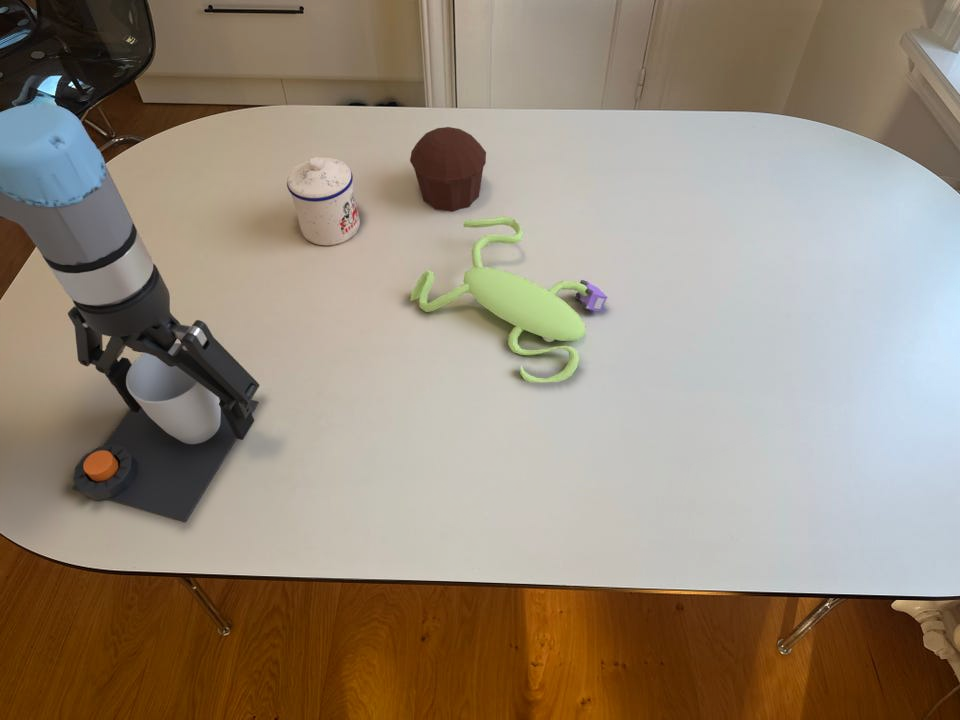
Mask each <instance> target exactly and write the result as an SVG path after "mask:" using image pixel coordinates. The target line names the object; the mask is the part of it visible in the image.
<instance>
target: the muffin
mask: <svg viewBox="0 0 960 720" xmlns="http://www.w3.org/2000/svg"><path fill="white" fill-rule="evenodd" d="M409 158H410V159H409V162H410V164H411V165H412V167H413V169H414V173H415V176H416V180H417V183H418V187H419V189H420V193H421V197H422V200H423V202H425V203H426V204H428V205H429V206H431V208H433V209H434V210H437V211H438V210H439V211H446V212H447V211H448V212H456V211H459V210H461V209H467V208H470V207H471V205H473V203H474V202H475V201H476V200H477V199H479V197H480V192H481V186H482V185H481V184H482V179H483V172H484V167H485V165H486V164H487V163H486V162H487V151H486V150H485V149H484V147H483V146H482V145H481V143H480V142H478V140H477V139H476V138H475V137H474V135H472V134H470V133H468V132H466V131H464V130H463V129H461V128H458V127H451V126H445V127H437V128H434V129H432V130H430V131H428V132H426V133H425V134H423V136H422V137H421V138H420V139H419V140H418V141H417V142H416V143H415V145H414V147H413V148H412V150H411V151H410V157H409Z"/></svg>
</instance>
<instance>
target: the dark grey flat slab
mask: <svg viewBox="0 0 960 720" xmlns="http://www.w3.org/2000/svg"><path fill="white" fill-rule="evenodd" d="M219 400H220V401H221V399H220V398H219ZM259 403H260V402H259V400H255V399H251V401H250V404H251V407H252V408H251V411H250V412H251V414H252V415H253V413H254V412H255V410H256V408H257V407H258V405H259ZM237 440H238V439H237V438H236V436H235V435H234V433H233V431H232V429H231V427H230V425H229V423H228V421H227V419H226V417H225V415H224V413H223V412H222V410H221V419H220V427H219V429H218V431H217V432H216V433H215V434H214V435H213V436H212V437H211V438H210V439H208V440H206V441H204V442H202V443H198V444H186V443H183V442H182V441H180V440H178V439H176V438H175V437H173V436H171V435H169V434H168V433H166V432H165V431H164V430H163V429H162V428H161V427H160V426H159V425H158V424H157V423H155V422H154V421H153V420H152V419H151V418H150V417H149V416H148V415H147V414H146V412H145V411H144V410H143V409H142V407H141V408H140V410H139V411H138V413H136V412H132V411H131V410H130V409H129V411H128V412H127V413H126V414H125V416H124V417H123V419H121V421H120V423H119V424H118V425H117V427H116V428H115V429H114V431H113V432H112V433H111V435H110V436H109V438H108V439H106V441H105V442H104V444H103V445H102V446H101V445H100V446H98V447H96V448H94V449H92V450H91V451H89V452H88V453H86V454H84V455H83V456H82V457H81V459H80V460H79V462H78V463H77V464H76V466H75V468H74V473H73V483H74V484H73V486H72V487H71V489H72V490H73V491H76V492H79V493H82V494H83V496H84V497H86V498H90V499H92V500H96V501H101V500H102V501H103V500H107V501H110V502H114V503H117V504H121V505H124V506H128V507H132V508H135V509H138V510H141V511H144V512H149V513H151V514H155V515H159V516H162V517H165V518H169V519H173V520H177V521H180V522H183V523H187V522H188V520H189V519H190V517H191V515H192V514H193V512H194V510H195V508H196V507H197V505H198V504H199V502H200V501H201V499H202V497H203V495H204V494H205V492H206V491H207V489H208V487H209V486H210V484H211V482H212V481H213V479H214V477H215V476H216V475H217V473H218V472H219V471H218V470H219V469H220V468H221V466H222V465H223V463H224V461H225V459H226V458H227V456H228V454H229V453H230V452H231V449H232V448H233V446H234V445H235V443H236V442H237ZM100 450H105V451H109V452H110V453H111V454H112V455H113V456H114V458H115V459H116V460H117V462H118V470H117V472H116V473H115V474H114V475H113V476H112V477H111V478H109V479H107V480H105V481H94V480H92V479H91V478H90V477H89V476H88V474H87V473H86V472H85V471H84V468H83V465H84V462H85V460H86V459H87V457H88V456H89V455H91V454H92V453H94V452H96V451H100Z"/></svg>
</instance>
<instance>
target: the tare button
mask: <svg viewBox="0 0 960 720" xmlns="http://www.w3.org/2000/svg"><path fill="white" fill-rule="evenodd" d="M83 468H84V471H85V472H86V473H87V474H88V476H89V477H90V478H91V479H92V480H94V481H105V480H107V479H109V478H111V477H112V476H113V475H114V474H115V473H116V472H117V470H118V462H117V460H116V459H115V458H114V456H113V455H112V454H111V453H110V452H109V451H105V450H100V451H96V452H94V453H92V454H91V455H89V456H88V457H87V459H86V460H85V462H84V465H83Z"/></svg>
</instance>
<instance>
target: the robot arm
mask: <svg viewBox="0 0 960 720" xmlns="http://www.w3.org/2000/svg"><path fill="white" fill-rule="evenodd" d="M0 218H1V219H4V220H9V221H11V222H14V223H16V224H17V225H19V226H20V227H21V228H22V229H23V230H24V231H25V233H26V234H27V236H28V237H29V238H30V240H31V241H32V242H33V243H32V244H34V246H35V247H36V249H37V250H38V251H39V253H40V254H41V257H42V258H43V259H44V261H45V262H46V264H47V266H48V268H49V269H50V270H51V272H52V273H53V275H54V276H55V278H56V280H57V281H58V283H59V284H60V286H61V287H62V289H63V290H64V292H65V294H67V296H68V297H69V298H70V299H71V301H72V302H73V305H74V306H73V307H71V309H70V310H69V311H68V312H67V316H68V317H69V320H70V321H71V323H72V325H73V326H74V333H75V344H76V354H77V362H79V364H80V365H82V366H85V367H89V366H90V365H94V366H95V370H96V371H98V372H99V373H100V374H104V376H106V378H107V380H108V381H109V383H110V384H111V385H112V387H114V388H115V390H116V391H117V392H118V394H119V395H120V397H121V398H122V400H123V401H124V402H125V404H126V405H127V407H128V408H129V411H130V410H131V411H132V412H136V413H138V411H139V410H140V408H141V406H140V405H139V404H138V402H137V401H136V400H135V399H134V397H133V396H132V395H131V394H130V392H129V391H128V389H127V385H126V377H127V373H128V371H129V369H130V367H131V365H132V364H133V363H132V362H131V361H130V359H129V358H127V357H124V356H122V357H121V355H122V354H123V353H124V350H125V348H126V347H127V348H129V349H131V350H132V351H133V352H135V353H142V354H143V353H148V354H150V355H153V356H156V357H157V358H158V359H160V360H161V361H162V362H164V363H165V364H166V365H168V366H170V367H173V366H177V367H178V368H180V369H181V370H182V371H184V372H185V373H186V374H188V375H189V376H190V377H192V378H193V379H194V380H196V381H197V382H199V383H200V384H201V385H203V386H204V387H205V388H207V389H208V390H209V391H211V392H212V393H213V394H215V395H216V396H217V397H219V398H220V399H221V401H220V402H219V406H220V408H221V410H222V412H223V413H224V415H225V417H226V419H227V421H228V423H229V425H230V427H231V429H232V431H233V433H234V435H235V436H236V438H237V440H240V441H244V439H245V437H246V435H247V434H248V432H249V431H250V429H251V427H252V425H253V424H254V423H255V418H254V416H253V413H252V414H251V412H250V411H251V408H252V407H251V404H250V401H251V400H253V397H254V396H255V394H256V393H257V391H258V389H259V388H260V383H259V382H258V381H257V380H256V378H254V377H253V376H252V375H251V374H250V373H249V372H248V371H247V369H245V368H244V367H243V366H242V365H241V364H240V362H238V360H237V359H235V358H234V356H233V355H232V354H230V352H229V351H228V350H227V349H225V347H224V346H223V345H222V344H221V343H220V342H219V341H218V340H217V339H216V337H214V336H213V334H212V332H211V330H210V328H209V327H208V325H207V324H206V323H205V322H204V321H202V320H200V319H196V320H195V321H194V322H193V324H191V325H186V324H181V323H180V321H179V320H178V319H177V318H176V317H175V316H174V315H173V314H172V313H171V295H170V291H169V289H168V287H167V285H166V283H165V280H164V279H163V276H162V274H161V273H160V271H159V268H158V267H157V265H156V264H155V263H154V261H153V258H152V256H151V255H150V252H149V250H148V248H147V246H146V245H145V243H144V241H143V238H142V237H141V235H140V233H139V231H138V229H137V228H136V225H135V224H134V220H133V218H132V216H131V214H130V212H129V210H128V207H127V205H126V204H125V202H124V200H123V198H122V195H121V194H120V191H119V189H118V188H117V185H116V183H115V181H114V179H113V177H112V175H111V173H110V171H109V169H108V167H107V164H106V162H105V158H104V156H103V154H102V153H101V151H100V149H99V148H98V147H97V145H96V144H95V142H94V141H93V140H92V139H91V137H90V136H89V134H88V132H87V130H86V128H85V127H84V125H83V123H82V122H81V120H80V119H79V118H78V117H77V115H75V114H74V113H73V112H71V111H70V110H69V109H68V108H67V109H66V108H64V107H62V106H60V105H56V104H51V103H45V104H42V105H40V106H37V105H36V104H32V103H29V104H21V105H17V106H14V107H10V108H7V109H5V110H3V111H0ZM103 336H106V337H110V338H109V340H108V342H107V344H106V345H105V349H104V345H103ZM177 340H178V341H179V342H181V344H180V346H179V347H178V348H177V350H176V351H175V352H174V354H173V355H171V354H169V353H168V352H169V350H170V349H171V348H172V346H173V345H174V343H175V342H177ZM103 349H104V350H103ZM119 358H120V359H119ZM118 359H119V360H118Z"/></svg>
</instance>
